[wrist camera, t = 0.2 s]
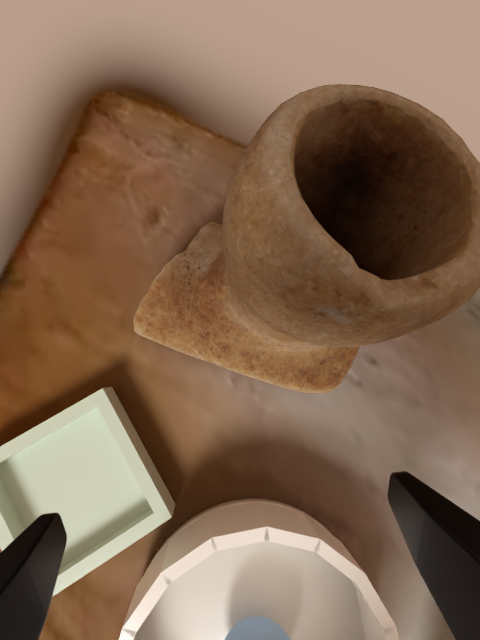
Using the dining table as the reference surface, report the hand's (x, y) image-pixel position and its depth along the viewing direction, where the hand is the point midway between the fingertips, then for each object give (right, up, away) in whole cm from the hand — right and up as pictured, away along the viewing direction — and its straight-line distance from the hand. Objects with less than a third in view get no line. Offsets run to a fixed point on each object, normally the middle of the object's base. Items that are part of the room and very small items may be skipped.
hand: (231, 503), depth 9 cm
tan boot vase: (+2, +7, +16) cm, 17 cm away
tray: (-10, -6, +13) cm, 17 cm away
